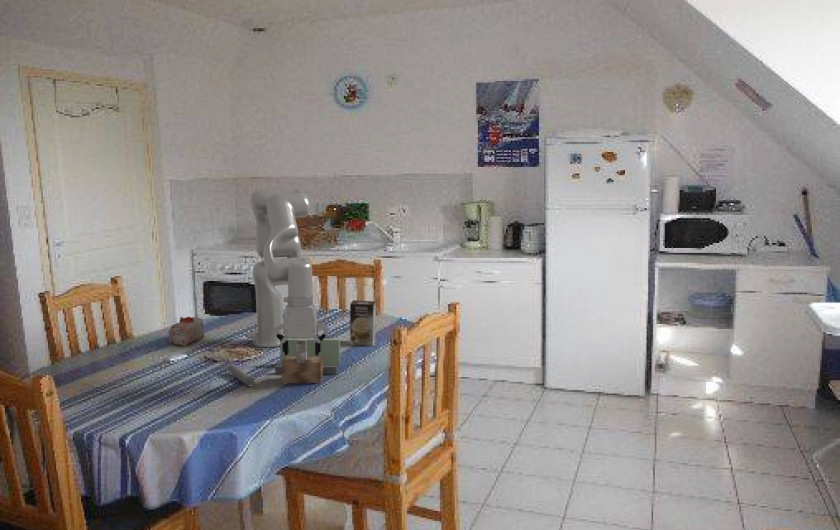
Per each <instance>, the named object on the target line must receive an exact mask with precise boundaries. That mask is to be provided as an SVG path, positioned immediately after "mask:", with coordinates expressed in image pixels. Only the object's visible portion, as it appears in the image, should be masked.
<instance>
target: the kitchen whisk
mask: <svg viewBox="0 0 840 530" xmlns="http://www.w3.org/2000/svg"><path fill="white" fill-rule="evenodd" d="M218 347H219V348H221V349H222V346H219V345H218V346H215V347H214V348H213V347H212V348H210V349H211V351H207V352H206V354H208V355H207V357H206V359H207V361H209V360H208V357H209V356H210V358H213V359H215V360H216V361H217V362H218V363H220V364H223V365H224V366H225V367H223V366H222V367H221V366H219V365H218V364H214V363H213V361H212V359H210V361H209V363H210V364H213V365H214V366H217V367H218V368H219V369H220V370H222V369H223V370H225V371H228V372H229V373H231V374H232V375H233V376H234V377H236V378H237V379H238V380H239V381H241V382H242V384H244V385H245V386H247V385H248V386H247V387H250V386H249V385H252V386H253V387H255V385H254V384H255V380H254V379H253V378H252V377H251V376H249V375H248V374H247V373H246V372H245V371H244V370H242V369H241V368H239V367H238V366H237V365H236V364H234V362H233V359H232V357H231V355H230V354H228V353H227V351H226V350H224V349H223V352H224V353H225V354H226V357H225V356H224V355H222V354H221V353H219V352H218V351H221V349H216V348H218ZM208 352H209V353H208ZM215 354H217V355H219V356H220V357H222V358H225V362H227V363H228V365H226V364H225V363H224V362H221V361H220V360H218V359H217V357H216V356H215ZM213 356H214V357H213ZM227 357H228V358H227Z"/></svg>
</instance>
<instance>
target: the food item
mask: <svg viewBox="0 0 840 530" xmlns="http://www.w3.org/2000/svg"><path fill="white" fill-rule="evenodd" d="M204 327H205V325H204V319H202V318H200V317H197V316H192V317H191V316H186V317H183V316H180V317H179V322H176V323H175V324H174V323H173V324H172V325H171V326H170V328H169V330H168V331H167V332H168V341H169V343H170V344H172V345H175V346H179V347H188V346H189V345H190V344H192V343H195V342H197V341H199V340H201V339H203V338H205V328H204Z"/></svg>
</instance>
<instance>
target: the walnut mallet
mask: <svg viewBox="0 0 840 530" xmlns="http://www.w3.org/2000/svg"><path fill="white" fill-rule="evenodd" d="M296 347H297V357H285V358H284V360H283V361H282V374H281V375H282V376H281V377H282V379H281V382H282V383H318V384H317V385H320V384H321V383H322V382H323V378H324V374H323V366H324V365H323V357H307V340H299V341H298V343H297V344H296ZM321 381H322V382H321Z"/></svg>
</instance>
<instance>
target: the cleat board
mask: <svg viewBox="0 0 840 530" xmlns="http://www.w3.org/2000/svg"><path fill="white" fill-rule="evenodd" d="M299 340H307V357H323V375H337V374H338V366H341V341H340V338H324V339H323V340H322V341H321V352H319V354H318V356H316V355H315V343H316V341H315V340H314V339H313V338H288V339H287V341H288V347H289V353H288V354H287V355H286V356H285V352H283V343H282V342H281V341H280V346H279V347H280V350H279V352H280V353H279V354H280V364H278V365H275V366H274V371H275V372H274V373H275V375H282V361H283V360H284V358H285V357H297V347H296V344H297V343H298V341H299Z"/></svg>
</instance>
